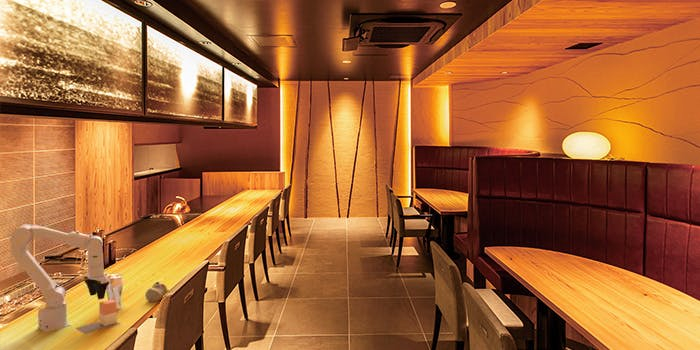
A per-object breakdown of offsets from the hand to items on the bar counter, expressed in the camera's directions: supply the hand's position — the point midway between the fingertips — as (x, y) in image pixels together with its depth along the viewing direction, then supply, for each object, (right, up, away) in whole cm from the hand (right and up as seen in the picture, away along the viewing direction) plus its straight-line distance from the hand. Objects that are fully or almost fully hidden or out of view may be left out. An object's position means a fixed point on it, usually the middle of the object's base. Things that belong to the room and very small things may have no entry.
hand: (97, 296), depth 195 cm
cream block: (+6, -10, -2) cm, 12 cm away
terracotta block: (+6, -6, -3) cm, 9 cm away
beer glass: (-1, -10, +16) cm, 19 cm away
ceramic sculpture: (+13, -9, +30) cm, 34 cm away
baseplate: (+4, -11, -6) cm, 13 cm away
